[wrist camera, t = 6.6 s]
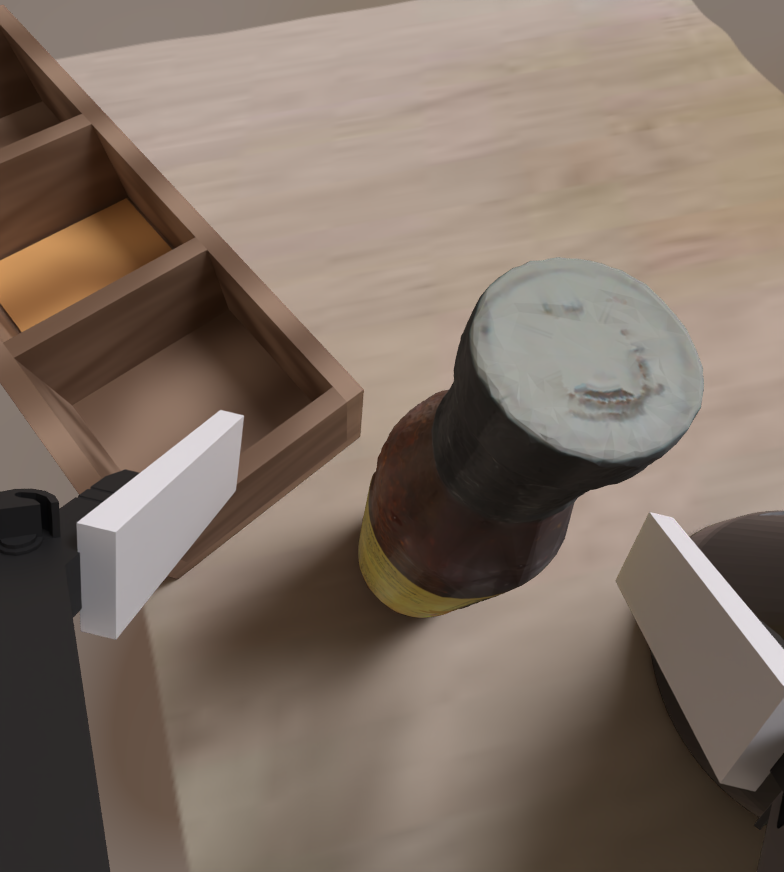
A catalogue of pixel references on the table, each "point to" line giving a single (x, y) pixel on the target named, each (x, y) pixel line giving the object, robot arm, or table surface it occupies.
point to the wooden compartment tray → (142, 310)
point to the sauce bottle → (525, 433)
